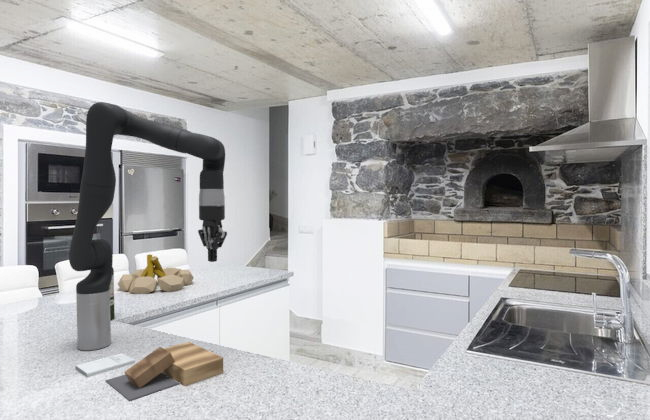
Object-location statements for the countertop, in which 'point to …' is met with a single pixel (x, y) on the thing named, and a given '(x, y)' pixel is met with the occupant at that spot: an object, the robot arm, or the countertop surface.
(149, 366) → the brown wood brick
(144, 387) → the mat
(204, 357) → the wooden block
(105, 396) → the countertop surface
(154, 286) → the campfire
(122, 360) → the external hard drive
